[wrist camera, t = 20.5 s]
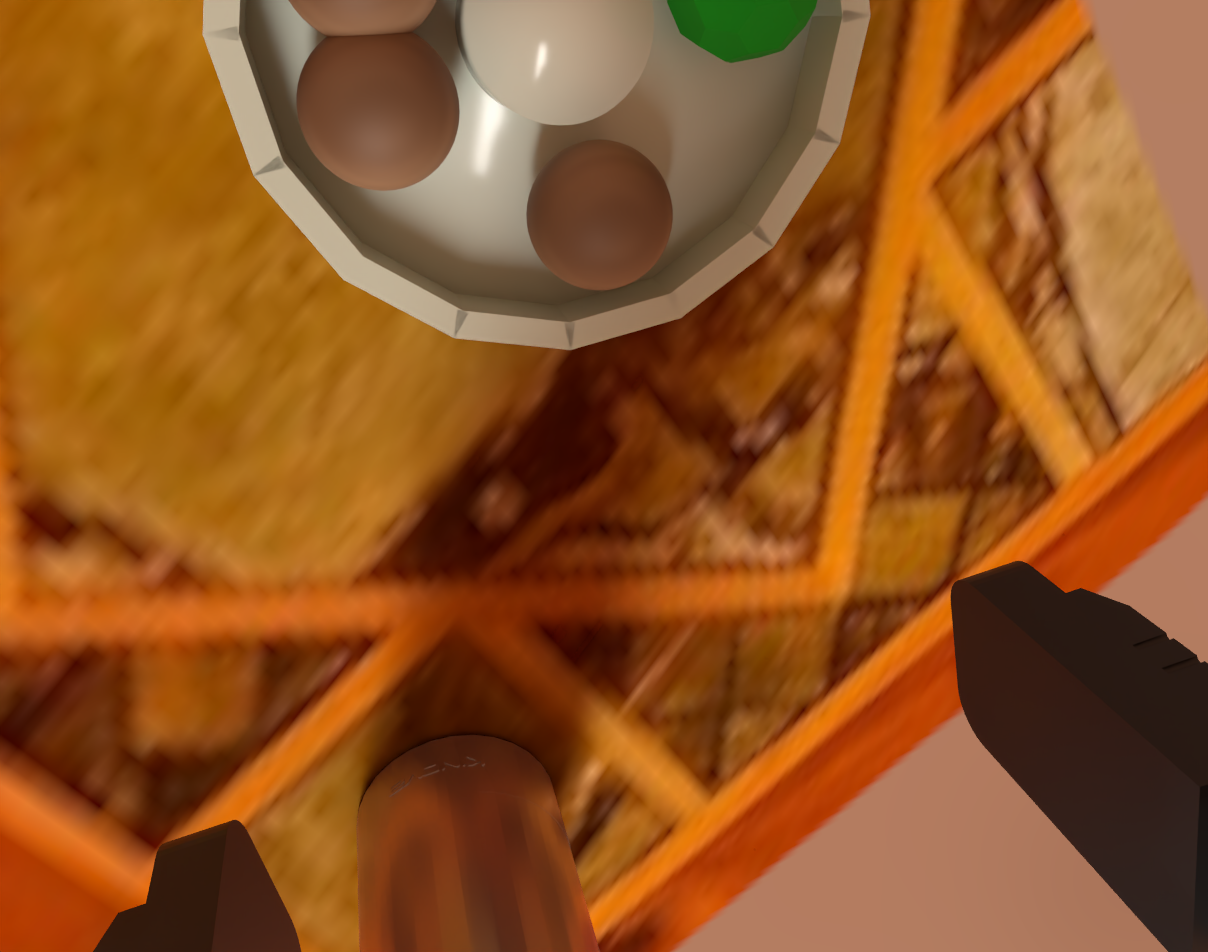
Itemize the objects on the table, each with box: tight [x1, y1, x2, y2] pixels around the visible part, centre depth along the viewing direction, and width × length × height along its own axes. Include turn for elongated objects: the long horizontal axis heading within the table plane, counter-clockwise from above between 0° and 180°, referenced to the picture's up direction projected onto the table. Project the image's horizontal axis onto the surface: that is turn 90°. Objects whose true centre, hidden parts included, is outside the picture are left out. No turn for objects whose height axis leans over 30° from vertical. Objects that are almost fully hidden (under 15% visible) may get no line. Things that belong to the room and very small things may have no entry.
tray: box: [203, 0, 871, 350], centre depth 34 cm, size 21×21×4 cm
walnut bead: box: [526, 140, 673, 290], centre depth 36 cm, size 5×5×5 cm
